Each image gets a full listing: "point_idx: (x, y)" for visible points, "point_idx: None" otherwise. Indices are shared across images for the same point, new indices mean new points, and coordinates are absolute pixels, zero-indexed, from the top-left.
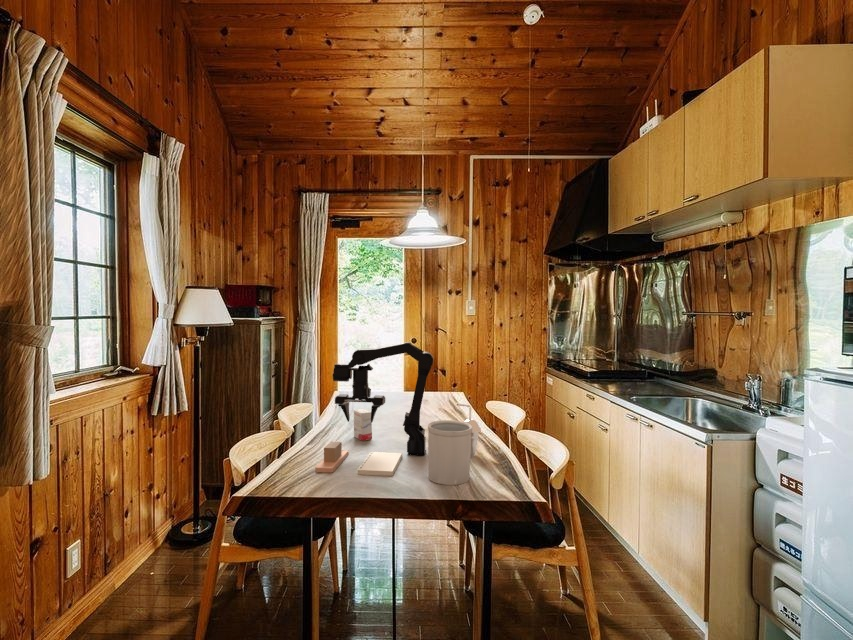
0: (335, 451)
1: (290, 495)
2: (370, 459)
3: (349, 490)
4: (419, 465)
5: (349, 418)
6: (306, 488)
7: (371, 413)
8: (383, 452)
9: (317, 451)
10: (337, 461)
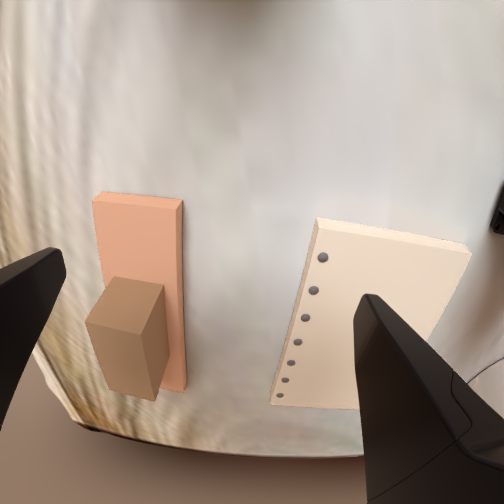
0: (158, 383)
1: (152, 440)
2: (315, 334)
3: (262, 443)
4: (481, 327)
5: (43, 263)
6: (165, 429)
7: (369, 459)
8: (390, 243)
9: (28, 159)
10: (176, 349)
